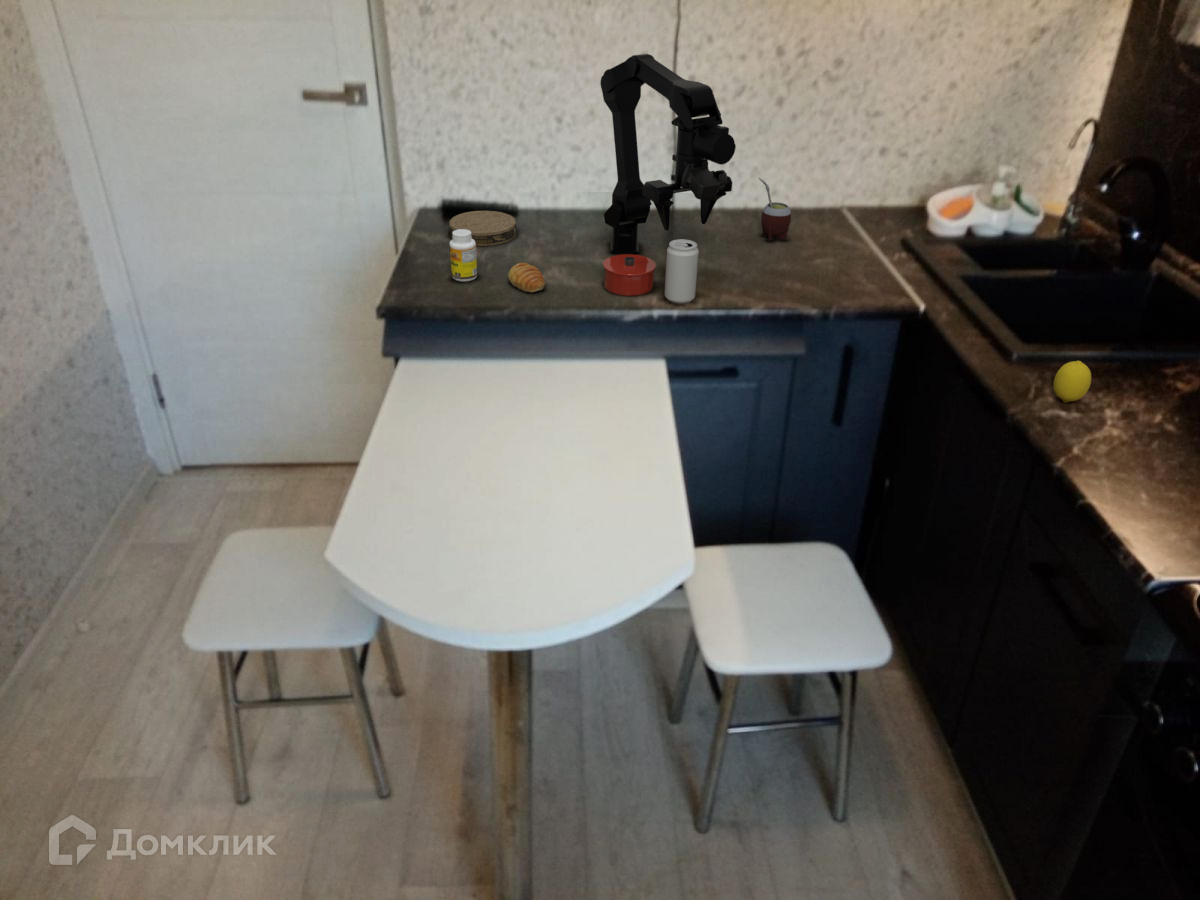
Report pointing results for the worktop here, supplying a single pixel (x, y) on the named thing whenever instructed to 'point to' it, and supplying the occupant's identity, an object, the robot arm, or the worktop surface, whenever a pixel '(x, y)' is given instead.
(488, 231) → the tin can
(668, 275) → the beverage can
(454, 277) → the supplement bottle
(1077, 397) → the lemon
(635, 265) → the pot lid
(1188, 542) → the worktop surface
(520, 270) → the pastry
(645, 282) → the pot
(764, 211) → the mate gourd
